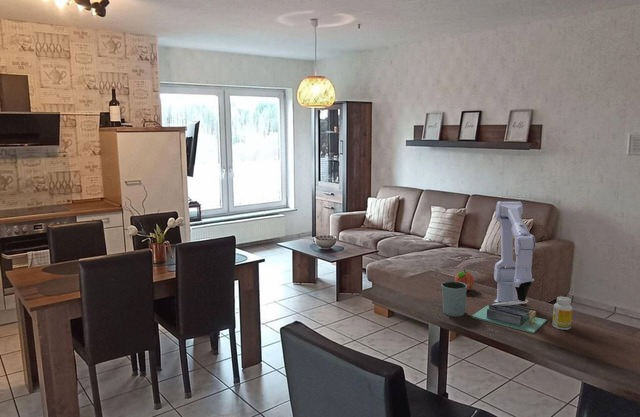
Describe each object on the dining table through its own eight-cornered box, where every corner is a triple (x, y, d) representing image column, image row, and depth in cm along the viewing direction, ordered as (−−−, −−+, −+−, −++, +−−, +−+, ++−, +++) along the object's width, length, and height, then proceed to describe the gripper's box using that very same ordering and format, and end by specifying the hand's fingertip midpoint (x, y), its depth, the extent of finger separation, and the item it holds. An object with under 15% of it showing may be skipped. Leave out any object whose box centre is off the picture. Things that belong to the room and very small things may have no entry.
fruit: (449, 288, 229) (450, 268, 227) (465, 285, 233) (465, 265, 231) (462, 294, 221) (463, 273, 219) (478, 290, 225) (479, 270, 224)
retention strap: (490, 307, 195) (490, 305, 195) (493, 305, 197) (492, 303, 197) (526, 303, 185) (525, 301, 185) (528, 301, 187) (527, 299, 187)
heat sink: (496, 309, 201) (497, 298, 200) (538, 319, 190) (539, 307, 189) (484, 317, 192) (485, 306, 191) (528, 328, 181) (528, 316, 180)
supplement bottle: (548, 325, 186) (550, 297, 184) (559, 322, 188) (561, 294, 186) (563, 331, 180) (565, 302, 178) (574, 328, 183) (576, 299, 181)
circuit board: (487, 306, 205) (487, 305, 205) (546, 321, 190) (546, 319, 190) (471, 317, 194) (471, 315, 194) (533, 333, 179) (533, 331, 178)
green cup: (467, 318, 194) (468, 289, 192) (441, 316, 196) (441, 288, 194) (464, 308, 204) (465, 281, 202) (440, 307, 206) (440, 280, 204)
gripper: (527, 272, 177) (525, 307, 179) (540, 264, 188) (538, 297, 190) (508, 269, 182) (506, 303, 184) (522, 261, 193) (520, 293, 195)
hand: (521, 300), depth 187 cm, fingers closed, pressing on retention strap
